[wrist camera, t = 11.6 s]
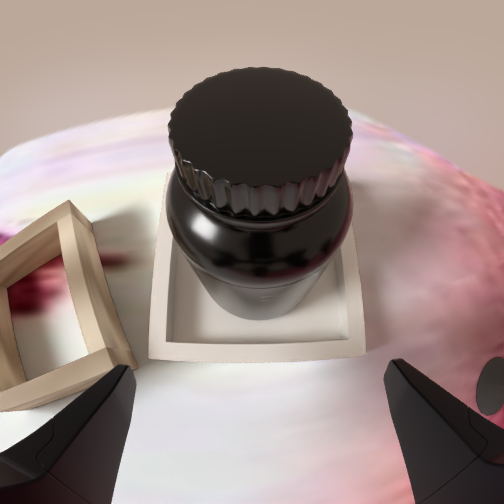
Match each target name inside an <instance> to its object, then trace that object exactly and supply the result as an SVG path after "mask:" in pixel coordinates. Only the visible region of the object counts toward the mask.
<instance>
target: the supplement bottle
mask: <svg viewBox="0 0 504 504" xmlns="http://www.w3.org/2000/svg"><path fill="white" fill-rule="evenodd" d="M170 115H171V120H170V122H169V123H168V131H169V137H168V138H169V144H170V147H171V150H172V153H173V156H174V159H175V168H174V170H173V172H172V174H171V177H170V180H169V183H168V187H167V192H166V201H165V204H166V216H167V221H168V224H169V228H170V230H171V233H172V235H173V237H174V239H175V241H176V243H177V245H178V247H179V249H180V250H181V252H182V253H183V255H184V257H185V258H186V260H187V261H188V263H189V265H190V266H191V268H192V269H193V271H194V272H195V274H196V275H197V277H198V278H199V280H200V281H201V283H202V285H203V286H204V288H205V289H206V291H207V292H208V293H209V295H210V296H211V297H212V299H213V300H214V301H215V302H216V303H217V304H218V305H219V306H220V307H221V308H223V309H224V310H226V311H227V312H229V313H230V314H232V315H235V316H237V317H240V318H243V319H247V320H259V321H261V320H269V319H273V318H277V317H280V316H282V315H284V314H286V313H288V312H289V311H291V310H292V309H294V308H295V307H296V306H298V305H299V304H300V303H301V302H302V300H303V299H304V298H305V297H306V296H307V294H308V293H309V292H310V290H311V289H312V288H313V286H314V285H315V283H316V282H317V281H318V279H319V278H320V276H321V275H322V273H323V272H324V271H325V269H326V268H327V266H328V265H329V263H330V262H331V261H332V259H333V258H334V256H335V255H336V253H337V252H338V250H339V248H340V247H341V245H342V243H343V241H344V239H345V237H346V235H347V233H348V230H349V227H350V224H351V220H352V214H353V195H352V190H351V185H350V182H349V179H348V176H347V174H346V171H345V169H344V165H345V162H346V160H347V157H348V154H349V152H350V144H351V142H352V138H353V132H352V129H351V127H352V121H351V119H350V118H349V116H348V110H347V109H346V108H345V107H344V106H343V105H342V102H341V100H340V99H339V98H337V97H336V96H334V94H333V92H332V91H331V90H329V89H327V88H325V87H324V86H323V85H322V84H321V83H319V82H317V81H314V80H312V79H311V78H309V77H308V76H304V75H300V74H298V73H296V72H294V71H287V70H283V69H280V68H268V67H259V68H254V67H248V68H244V69H233V70H231V71H229V72H223V73H219V74H217V75H215V76H213V77H209V78H206V79H205V80H204V81H203V82H201V83H198V84H196V85H194V86H193V88H192V89H191V90H189V91H187V92H186V93H184V95H183V98H182V99H180V100H179V101H178V102H177V103H176V108H175V109H174V110H173V111H172V112H171V114H170Z"/></svg>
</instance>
